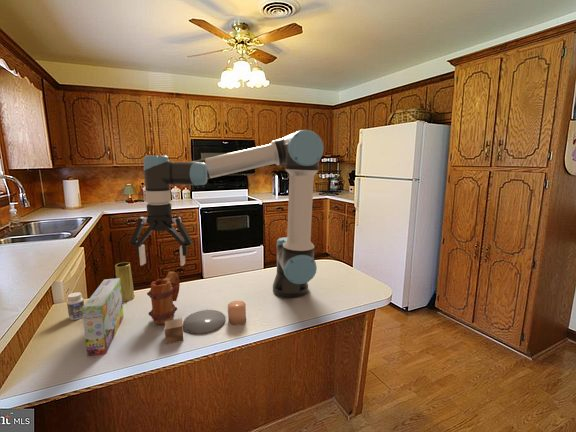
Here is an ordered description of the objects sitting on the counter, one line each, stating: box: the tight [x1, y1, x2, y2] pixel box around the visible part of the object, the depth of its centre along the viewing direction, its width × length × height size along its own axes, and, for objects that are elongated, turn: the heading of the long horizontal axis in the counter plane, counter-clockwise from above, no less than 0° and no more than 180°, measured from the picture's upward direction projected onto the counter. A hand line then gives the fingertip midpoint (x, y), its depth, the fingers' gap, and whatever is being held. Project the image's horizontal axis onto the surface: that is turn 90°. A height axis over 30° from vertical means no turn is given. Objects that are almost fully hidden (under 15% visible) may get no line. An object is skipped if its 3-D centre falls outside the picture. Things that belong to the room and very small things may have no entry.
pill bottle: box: [66, 291, 85, 321], centre depth 106 cm, size 5×5×8 cm
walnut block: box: [164, 317, 184, 345], centre depth 94 cm, size 5×5×5 cm
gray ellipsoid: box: [182, 309, 226, 335], centre depth 103 cm, size 14×14×1 cm
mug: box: [146, 271, 181, 324], centre depth 105 cm, size 15×8×15 cm, turn 168°
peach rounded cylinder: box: [227, 300, 247, 326], centre depth 104 cm, size 6×6×6 cm
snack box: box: [82, 277, 125, 357], centre depth 95 cm, size 21×6×15 cm, turn 17°
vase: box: [114, 261, 135, 303], centre depth 119 cm, size 6×6×14 cm
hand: (163, 264), depth 103 cm, fingers open, 13 cm apart
